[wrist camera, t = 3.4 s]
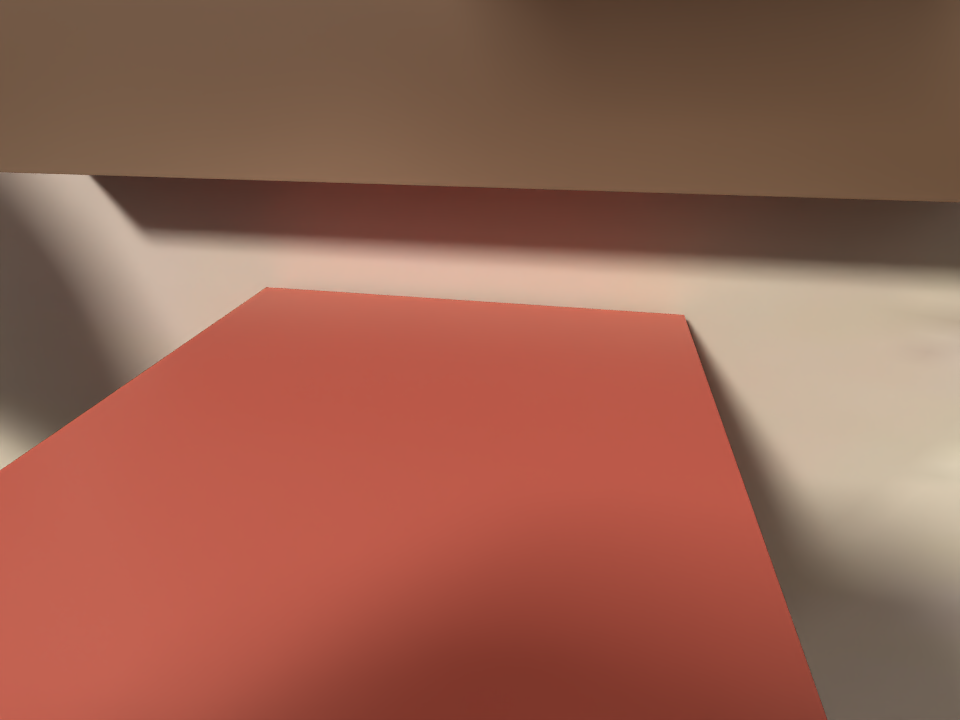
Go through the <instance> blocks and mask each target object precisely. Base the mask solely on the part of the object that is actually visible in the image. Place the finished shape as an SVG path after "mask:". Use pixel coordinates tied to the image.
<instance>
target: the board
mask: <svg viewBox="0 0 960 720" xmlns="http://www.w3.org/2000/svg"><path fill="white" fill-rule="evenodd" d="M0 172H14V173H45V174H77V175H109V176H141V177H172V178H204V179H236V180H268V181H299V182H331V183H363V184H395V185H426V186H458V187H490V188H522V189H553V190H585V191H617V192H649V193H680V194H712V195H744V196H775V197H807V198H839V199H871V200H902V201H934V202H960V0H0Z"/></svg>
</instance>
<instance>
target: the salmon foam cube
mask: <svg viewBox="0 0 960 720" xmlns="http://www.w3.org/2000/svg"><path fill="white" fill-rule="evenodd" d="M0 720H827V717H826V714H825V712H824V709H823V706H822V703H821V700H820V698H819V695H818V692H817V689H816V686H815V683H814V681H813V678H812V675H811V672H810V669H809V666H808V664H807V661H806V658H805V655H804V652H803V650H802V647H801V644H800V641H799V638H798V635H797V633H796V630H795V627H794V624H793V621H792V618H791V616H790V613H789V610H788V607H787V604H786V602H785V599H784V596H783V593H782V590H781V587H780V585H779V582H778V579H777V576H776V573H775V570H774V568H773V565H772V562H771V559H770V556H769V554H768V551H767V548H766V545H765V542H764V539H763V537H762V534H761V531H760V528H759V525H758V523H757V520H756V517H755V514H754V511H753V508H752V506H751V503H750V500H749V497H748V494H747V491H746V489H745V486H744V483H743V480H742V477H741V475H740V472H739V469H738V466H737V463H736V460H735V458H734V455H733V452H732V449H731V446H730V443H729V441H728V438H727V435H726V432H725V429H724V427H723V424H722V421H721V418H720V415H719V412H718V410H717V407H716V404H715V401H714V398H713V395H712V393H711V390H710V387H709V384H708V381H707V379H706V376H705V373H704V370H703V367H702V364H701V362H700V359H699V356H698V353H697V350H696V347H695V345H694V342H693V339H692V336H691V333H690V331H689V328H688V325H687V322H686V319H685V316H684V315H676V314H661V313H646V312H631V311H616V310H601V309H586V308H571V307H556V306H540V305H525V304H510V303H495V302H480V301H465V300H450V299H435V298H420V297H405V296H389V295H374V294H359V293H344V292H329V291H314V290H299V289H284V288H269V287H266V288H265V289H263V290H262V291H260V292H259V293H257V294H256V295H255V296H253V297H252V298H250V299H249V300H247V301H246V302H244V303H243V304H241V305H240V306H239V307H237V308H236V309H234V310H233V311H231V312H230V313H228V314H227V315H225V316H224V317H223V318H221V319H220V320H218V321H217V322H215V323H214V324H212V325H211V326H209V327H208V328H207V329H205V330H204V331H202V332H201V333H199V334H198V335H196V336H195V337H193V338H192V339H191V340H189V341H188V342H186V343H185V344H183V345H182V346H180V347H179V348H178V349H176V350H175V351H173V352H172V353H170V354H169V355H167V356H166V357H164V358H163V359H162V360H160V361H159V362H157V363H156V364H154V365H153V366H151V367H150V368H148V369H147V370H146V371H144V372H143V373H141V374H140V375H138V376H137V377H135V378H134V379H132V380H131V381H130V382H128V383H127V384H125V385H124V386H122V387H121V388H119V389H118V390H116V391H115V392H114V393H112V394H111V395H109V396H108V397H106V398H105V399H103V400H102V401H100V402H99V403H98V404H96V405H95V406H93V407H92V408H90V409H89V410H87V411H86V412H84V413H83V414H82V415H80V416H79V417H77V418H76V419H74V420H73V421H71V422H70V423H68V424H67V425H66V426H64V427H63V428H61V429H60V430H58V431H57V432H55V433H54V434H52V435H51V436H50V437H48V438H47V439H45V440H44V441H42V442H41V443H39V444H38V445H36V446H35V447H34V448H32V449H31V450H29V451H28V452H26V453H25V454H23V455H22V456H20V457H19V458H18V459H16V460H15V461H13V462H12V463H10V464H9V465H7V466H6V467H4V468H3V469H2V470H0Z"/></svg>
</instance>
